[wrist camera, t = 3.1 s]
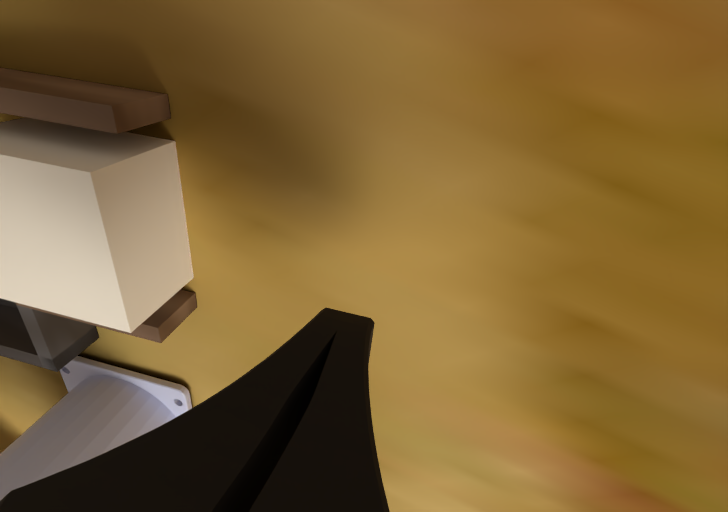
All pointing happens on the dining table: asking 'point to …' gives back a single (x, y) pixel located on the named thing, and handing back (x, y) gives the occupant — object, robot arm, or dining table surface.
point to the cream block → (90, 222)
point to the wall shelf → (98, 112)
